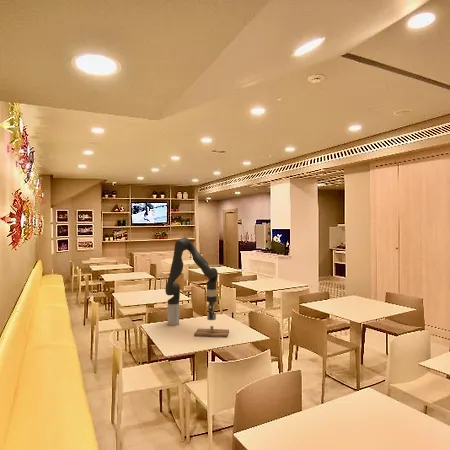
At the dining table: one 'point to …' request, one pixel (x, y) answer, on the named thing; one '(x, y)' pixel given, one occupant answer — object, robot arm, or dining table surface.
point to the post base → (211, 332)
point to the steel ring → (212, 316)
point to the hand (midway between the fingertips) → (211, 317)
